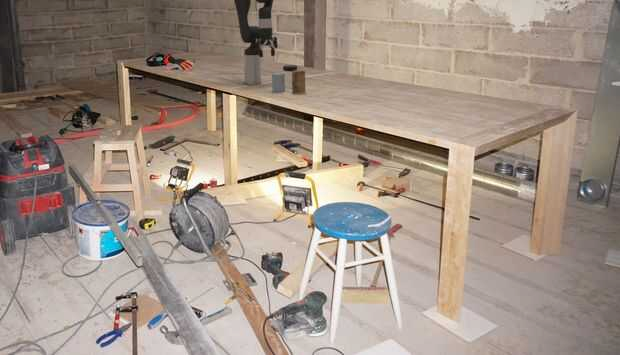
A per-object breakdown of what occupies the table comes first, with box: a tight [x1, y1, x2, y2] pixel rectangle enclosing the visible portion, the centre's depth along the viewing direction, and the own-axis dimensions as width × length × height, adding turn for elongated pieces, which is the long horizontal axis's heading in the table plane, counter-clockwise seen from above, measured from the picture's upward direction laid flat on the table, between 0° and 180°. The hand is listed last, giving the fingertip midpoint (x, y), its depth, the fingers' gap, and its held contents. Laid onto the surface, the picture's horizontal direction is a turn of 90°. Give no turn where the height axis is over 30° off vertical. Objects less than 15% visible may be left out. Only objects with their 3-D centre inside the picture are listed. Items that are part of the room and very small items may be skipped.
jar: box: [282, 64, 298, 89], centre depth 319 cm, size 9×8×12 cm
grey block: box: [271, 72, 286, 94], centre depth 305 cm, size 5×5×10 cm
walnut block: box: [291, 69, 306, 95], centre depth 300 cm, size 5×5×12 cm
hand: (267, 56), depth 316 cm, fingers open, 8 cm apart
